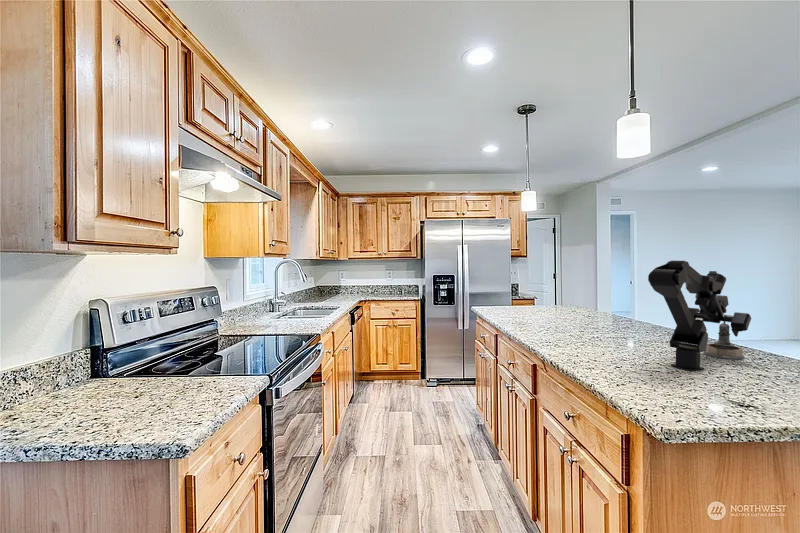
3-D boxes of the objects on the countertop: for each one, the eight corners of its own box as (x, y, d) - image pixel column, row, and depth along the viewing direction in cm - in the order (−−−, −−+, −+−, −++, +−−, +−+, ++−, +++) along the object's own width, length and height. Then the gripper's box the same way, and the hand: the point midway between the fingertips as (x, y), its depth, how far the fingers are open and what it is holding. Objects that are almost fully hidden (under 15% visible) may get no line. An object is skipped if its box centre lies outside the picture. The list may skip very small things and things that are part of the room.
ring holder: (728, 360, 137) (728, 351, 137) (695, 352, 148) (695, 344, 148) (752, 358, 140) (753, 349, 140) (719, 350, 151) (719, 342, 151)
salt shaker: (720, 351, 147) (721, 319, 147) (738, 354, 142) (739, 322, 141) (709, 352, 146) (710, 320, 145) (727, 356, 140) (727, 322, 140)
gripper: (750, 289, 131) (760, 320, 137) (686, 286, 147) (697, 313, 153) (740, 314, 127) (751, 345, 133) (675, 308, 143) (688, 335, 149)
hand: (720, 333), depth 142 cm, fingers open, 9 cm apart
